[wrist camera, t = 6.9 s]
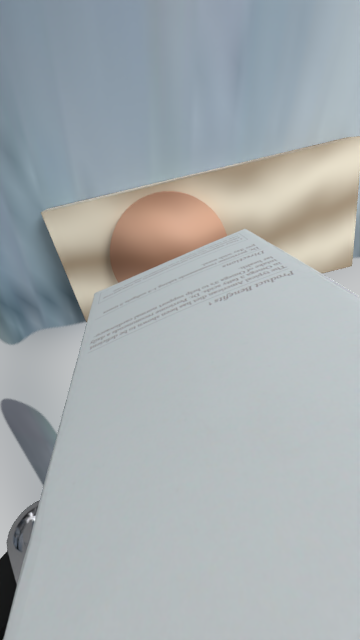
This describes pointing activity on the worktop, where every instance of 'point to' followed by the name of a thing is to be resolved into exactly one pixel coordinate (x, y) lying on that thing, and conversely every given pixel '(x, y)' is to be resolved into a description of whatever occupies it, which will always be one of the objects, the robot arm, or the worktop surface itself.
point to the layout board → (214, 216)
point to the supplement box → (205, 460)
